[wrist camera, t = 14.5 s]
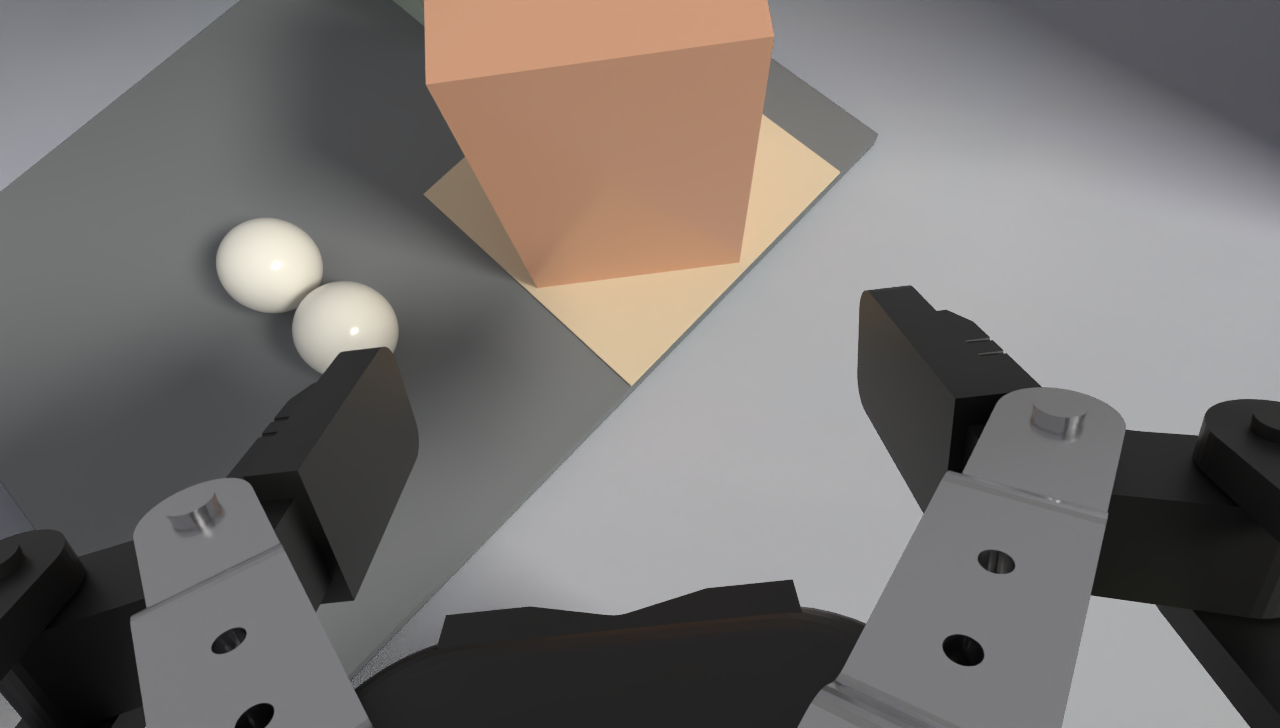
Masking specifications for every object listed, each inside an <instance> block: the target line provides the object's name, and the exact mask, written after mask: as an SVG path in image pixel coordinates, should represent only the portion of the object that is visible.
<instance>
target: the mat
mask: <svg viewBox="0 0 1280 728" xmlns="http://www.w3.org/2000/svg"><path fill="white" fill-rule="evenodd" d="M877 136H878V134H877V133H876V132H874V131H873V130H872V129H870V128H869V127H867V126H866V125H865V124H863V123H862V122H860V121H859V120H858V119H856V118H855V117H853V116H852V115H851V114H849V113H848V112H846V111H845V110H844V109H842V108H841V107H839V106H838V105H837V104H835V103H834V102H832V101H831V100H830V99H828V98H827V97H825V96H824V95H823V94H821V93H820V92H818V91H817V90H816V89H814V88H813V87H811V86H810V85H809V84H807V83H806V82H804V81H803V80H801V79H800V78H799V77H797V76H796V75H794V74H793V73H792V72H790V71H789V70H787V69H786V68H785V67H783V66H782V65H780V64H779V63H778V62H776V61H775V60H773V59H772V58H771V61H770V68H769V74H768V81H767V87H766V94H765V100H764V107H763V113H762V120H761V126H760V132H759V139H758V145H757V152H756V158H755V165H754V171H753V178H752V184H751V191H750V197H749V203H748V210H747V216H746V223H745V229H744V236H743V242H742V249H741V255H740V262H739V263H732V264H724V265H716V266H708V267H700V268H692V269H684V270H676V271H669V272H661V273H653V274H645V275H637V276H629V277H621V278H613V279H605V280H598V281H590V282H582V283H574V284H566V285H558V286H550V287H542V288H537V287H536V285H535V283H534V281H533V279H532V278H531V276H530V274H529V272H528V270H527V268H526V267H525V265H524V263H523V261H522V259H521V257H520V256H519V254H518V252H517V250H516V248H515V247H514V245H513V243H512V241H511V239H510V237H509V236H508V234H507V232H506V230H505V228H504V226H503V225H502V223H501V221H500V219H499V217H498V216H497V214H496V212H495V210H494V208H493V206H492V205H491V203H490V201H489V199H488V197H487V195H486V194H485V192H484V190H483V188H482V186H481V184H480V183H479V181H478V179H477V177H476V175H475V174H474V172H473V170H472V168H471V166H470V164H469V163H468V161H467V159H466V157H465V155H464V153H463V152H462V150H461V148H460V146H459V144H458V143H457V141H456V139H455V137H454V135H453V133H452V132H451V130H450V128H449V126H448V124H447V122H446V121H445V119H444V117H443V115H442V113H441V112H440V110H439V108H438V106H437V104H436V102H435V101H434V99H433V97H432V95H431V93H430V91H429V90H428V88H427V86H426V72H425V27H424V26H423V25H422V24H421V23H419V22H418V21H417V20H416V19H415V18H413V17H412V16H411V15H410V14H409V13H407V12H406V11H405V10H404V9H403V8H401V7H400V6H399V5H398V4H397V3H395V2H394V1H393V0H240V1H239V2H238V3H236V4H235V5H234V6H233V7H231V8H230V9H229V10H228V11H226V12H225V13H224V14H223V15H221V16H220V17H219V18H218V19H216V20H215V21H214V22H213V23H211V24H210V25H209V26H207V27H206V28H205V29H204V30H202V31H201V32H200V33H199V34H197V35H196V36H195V37H194V38H192V39H191V40H190V41H189V42H187V43H186V44H185V45H184V46H182V47H181V48H180V49H179V50H177V51H176V52H175V53H174V54H172V55H171V56H170V57H169V58H167V59H166V60H165V61H164V62H162V63H161V64H160V65H159V66H157V67H156V68H155V69H154V70H152V71H151V72H150V73H149V74H147V75H146V76H145V77H144V78H142V79H141V80H140V81H139V82H137V83H136V84H135V85H134V86H132V87H131V88H130V89H129V90H127V91H126V92H125V93H124V94H122V95H121V96H120V97H119V98H117V99H116V100H115V101H114V102H112V103H111V104H110V105H109V106H107V107H106V108H105V109H104V110H102V111H101V112H100V113H99V114H97V115H96V116H95V117H93V118H92V119H91V120H90V121H88V122H87V123H86V124H85V125H83V126H82V127H81V128H80V129H78V130H77V131H76V132H75V133H73V134H72V135H71V136H70V137H68V138H67V139H66V140H65V141H63V142H62V143H61V144H60V145H58V146H57V147H56V148H55V149H53V150H52V151H51V152H50V153H48V154H47V155H46V156H45V157H43V158H42V159H41V160H40V161H38V162H37V163H36V164H35V165H33V166H32V167H31V168H30V169H28V170H27V171H26V172H25V173H23V174H22V175H21V176H20V177H18V178H17V179H16V180H15V181H13V182H12V183H11V184H10V185H8V186H7V187H6V188H5V189H3V190H2V191H1V192H0V481H1V483H2V484H3V486H4V487H5V488H6V490H7V491H8V493H9V494H10V495H11V497H12V498H13V500H14V501H15V502H16V504H17V505H18V507H19V508H20V509H21V511H22V512H23V514H24V515H25V516H26V518H27V519H28V521H29V522H30V523H31V525H32V526H33V528H34V529H35V530H42V529H50V530H56V531H59V532H61V533H62V534H63V535H64V537H65V538H66V540H67V541H68V543H69V544H70V546H71V547H72V549H73V550H74V552H75V553H76V555H77V556H78V557H79V556H82V555H86V554H89V553H92V552H96V551H99V550H102V549H106V548H109V547H112V546H116V545H119V544H122V543H126V542H129V541H132V540H134V539H133V533H134V531H135V528H136V526H137V525H138V523H139V521H140V520H141V519H142V518H143V517H144V516H145V515H146V514H147V513H148V512H149V511H150V510H151V509H152V508H154V507H155V506H156V505H158V504H159V503H160V502H162V501H164V500H165V499H167V498H168V497H170V496H172V495H174V494H176V493H177V492H180V491H182V490H184V489H186V488H188V487H191V486H194V485H196V484H199V483H203V482H206V481H210V480H215V479H221V478H226V477H227V475H228V474H229V473H230V472H231V471H232V469H233V468H234V467H235V466H236V464H237V463H238V462H239V461H240V459H241V458H242V457H243V456H244V455H245V453H246V452H247V451H248V450H249V448H250V447H251V446H252V445H253V443H254V442H255V441H256V440H257V439H258V437H262V432H263V431H264V430H265V429H266V427H267V426H268V425H269V424H270V423H271V422H274V418H275V416H276V415H277V414H278V413H279V411H280V410H281V409H282V408H283V407H284V405H285V404H286V403H287V402H288V400H289V399H291V398H292V397H294V396H295V395H297V394H298V393H300V392H301V391H302V390H304V389H305V388H307V387H308V386H310V385H311V384H312V383H315V382H317V381H318V380H319V378H320V377H321V376H322V375H323V374H321V373H319V372H317V371H316V370H314V369H313V368H311V367H310V366H309V365H308V364H307V363H306V362H305V361H304V360H303V359H302V358H301V356H300V355H299V353H298V351H297V349H296V347H295V344H294V341H293V336H292V323H293V318H294V315H295V312H296V310H297V308H296V309H294V310H291V311H287V312H283V313H263V312H258V311H255V310H252V309H249V308H247V307H245V306H243V305H241V304H240V303H238V302H237V301H236V300H234V299H233V298H232V297H231V296H230V295H229V294H228V293H227V291H226V290H225V289H224V287H223V286H222V284H221V282H220V280H219V277H218V274H217V270H216V255H217V250H218V248H219V245H220V243H221V241H222V240H223V238H224V237H225V236H226V234H227V233H228V232H229V231H230V230H231V229H233V228H234V227H236V226H237V225H239V224H241V223H243V222H245V221H248V220H251V219H255V218H277V219H281V220H285V221H288V222H290V223H292V224H294V225H296V226H298V227H299V228H301V229H302V230H304V231H305V232H306V233H307V234H308V235H309V236H310V237H311V238H312V239H313V241H314V242H315V244H316V245H317V247H318V249H319V251H320V254H321V257H322V261H323V276H322V280H321V283H320V286H322V285H325V284H327V283H331V282H337V281H352V282H358V283H361V284H364V285H367V286H369V287H371V288H373V289H375V290H376V291H378V292H379V293H380V294H381V295H383V296H384V297H385V298H386V300H387V301H388V302H389V303H390V305H391V306H392V308H393V310H394V312H395V314H396V317H397V320H398V326H399V337H398V342H397V345H396V348H395V351H394V353H393V355H394V357H395V359H396V362H397V365H398V368H399V371H400V374H401V377H402V380H403V383H404V386H405V389H406V393H407V396H408V399H409V402H410V405H411V408H412V411H413V414H414V417H415V420H416V424H417V428H418V434H419V450H418V456H417V459H416V462H415V464H414V466H413V468H412V471H411V473H410V475H409V478H408V480H407V482H406V484H405V487H404V489H403V491H402V493H401V496H400V498H399V500H398V503H397V505H396V507H395V509H394V512H393V514H392V516H391V519H390V521H389V523H388V525H387V528H386V530H385V532H384V534H383V537H382V539H381V541H380V544H379V546H378V548H377V550H376V553H375V555H374V557H373V560H372V562H371V564H370V566H369V569H368V571H367V573H366V575H365V578H364V580H363V582H362V585H361V587H360V589H359V591H358V594H357V596H356V598H355V601H346V602H337V603H327V604H320V606H319V608H318V610H317V612H316V614H317V616H318V618H319V620H320V622H321V624H322V626H323V628H324V630H325V632H326V634H327V636H328V638H329V640H330V642H331V644H332V646H333V648H334V650H335V652H336V654H337V656H338V658H339V660H340V662H341V664H342V666H343V668H344V670H345V672H346V674H347V676H348V678H349V680H351V679H352V678H353V677H354V676H355V675H356V674H357V673H358V672H359V671H360V670H361V669H362V668H363V667H364V666H365V665H366V664H367V663H368V662H369V661H370V660H371V659H372V658H373V657H374V656H375V655H376V654H377V653H378V652H379V651H380V650H381V649H382V648H383V647H384V646H385V645H386V644H387V642H388V641H389V640H390V639H391V638H392V637H393V636H394V635H395V634H396V633H397V632H398V631H399V630H400V629H401V628H402V627H403V626H404V625H405V624H406V623H407V622H408V621H409V620H410V619H411V618H412V617H413V616H414V615H415V614H416V613H417V612H418V611H419V610H420V609H421V608H422V607H423V606H424V605H425V604H426V603H427V602H428V600H429V599H430V598H431V597H432V596H433V595H434V594H435V593H436V592H437V591H438V590H439V589H440V588H441V587H442V586H443V585H444V584H445V583H446V582H447V581H448V580H449V579H450V578H451V577H452V576H453V575H454V574H455V573H456V572H457V571H458V570H459V569H460V568H461V567H462V566H463V565H464V564H465V563H466V562H467V561H468V560H469V559H470V557H471V556H472V555H473V554H474V553H475V552H476V551H477V550H478V549H479V548H480V547H481V546H482V545H483V544H484V543H485V542H486V541H487V540H488V539H489V538H490V537H491V536H492V535H493V534H494V533H495V532H496V531H497V530H498V529H499V528H500V527H501V526H502V525H503V524H504V523H505V522H506V521H507V520H508V519H509V518H510V517H511V515H512V514H513V513H514V512H515V511H516V510H517V509H518V508H519V507H520V506H521V505H522V504H523V503H524V502H525V501H526V500H527V499H528V498H529V497H530V496H531V495H532V494H533V493H534V492H535V491H536V490H537V489H538V488H539V487H540V486H541V485H542V484H543V483H544V482H545V481H546V480H547V479H548V478H549V477H550V476H551V475H552V473H553V472H554V471H555V470H556V469H557V468H558V467H559V466H560V465H561V464H562V463H563V462H564V461H565V460H566V459H567V458H568V457H569V456H570V455H571V454H572V453H573V452H574V451H575V450H576V449H577V448H578V447H579V446H580V445H581V444H582V443H583V442H584V441H585V440H586V439H587V438H588V437H589V436H590V435H591V434H592V433H593V432H594V430H595V429H596V428H597V427H598V426H599V425H600V424H601V423H602V422H603V421H604V420H605V419H606V418H607V417H608V416H609V415H610V414H611V413H612V412H613V411H614V410H615V409H616V408H617V407H618V406H619V405H620V404H621V403H622V402H623V401H624V400H625V399H626V398H627V397H628V396H629V395H630V394H631V393H632V392H633V391H634V390H635V388H636V387H637V386H638V385H639V384H640V383H641V382H642V381H643V380H644V379H645V378H646V377H647V376H648V375H649V374H650V373H651V372H652V371H653V370H654V369H655V368H656V367H657V366H658V365H659V364H660V363H661V362H662V361H663V360H664V359H665V358H666V357H667V356H668V355H669V354H670V353H671V352H672V351H673V350H674V349H675V348H676V346H677V345H678V344H679V343H680V342H681V341H682V340H683V339H684V338H685V337H686V336H687V335H688V334H689V333H690V332H691V331H692V330H693V329H694V328H695V327H696V326H697V325H698V324H699V323H700V322H701V321H702V320H703V319H704V318H705V317H706V316H707V315H708V314H709V313H710V312H711V311H712V310H713V309H714V308H715V307H716V306H717V305H718V303H719V302H720V301H721V300H722V299H723V298H724V297H725V296H726V295H727V294H728V293H729V292H730V291H731V290H732V289H733V288H734V287H735V286H736V285H737V284H738V283H739V282H740V281H741V280H742V279H743V278H744V277H745V276H746V275H747V274H748V273H749V272H750V271H751V270H752V269H753V268H754V267H755V266H756V265H757V264H758V263H759V261H760V260H761V259H762V258H763V257H764V256H765V255H766V254H767V253H768V252H769V251H770V250H771V249H772V248H773V247H774V246H775V245H776V244H777V243H778V242H779V241H780V240H781V239H782V238H783V237H784V236H785V235H786V234H787V233H788V232H789V231H790V230H791V229H792V228H793V227H794V226H795V225H796V224H797V223H798V222H799V221H800V219H801V218H802V217H803V216H804V215H805V214H806V213H807V212H808V211H809V210H810V209H811V208H812V207H813V206H814V205H815V204H816V203H817V202H818V201H819V200H820V199H821V198H822V197H823V196H824V195H825V194H826V193H827V192H828V191H829V190H830V189H831V188H832V187H833V186H834V185H835V184H836V183H837V182H838V181H839V180H840V179H841V178H842V176H843V175H844V174H845V173H846V172H847V171H848V170H849V169H850V168H851V167H852V166H853V165H854V164H855V163H856V162H857V161H858V160H859V159H860V158H861V157H862V156H863V155H864V154H865V153H866V152H867V151H868V150H869V149H870V148H871V147H872V146H873V145H874V143H875V140H876V138H877ZM320 286H319V287H320Z"/></svg>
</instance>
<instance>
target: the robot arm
mask: <svg viewBox="0 0 1280 728" xmlns="http://www.w3.org/2000/svg"><path fill="white" fill-rule="evenodd" d="M857 377H858V388H859V394H860V398H861V402H862V405H863V408H864V410H865V412H866V414H867V415H868V417H869V419H870V421H871V422H872V424H873V426H874V428H875V429H876V431H877V433H878V435H879V436H880V438H881V440H882V442H883V443H884V445H885V447H886V449H887V450H888V452H889V454H890V456H891V457H892V459H893V461H894V463H895V464H896V466H897V468H898V470H899V471H900V473H901V475H902V477H903V478H904V480H905V482H906V484H907V485H908V487H909V489H910V491H911V492H912V494H913V496H914V498H915V499H916V501H917V503H918V504H919V506H920V508H921V510H922V511H923V513H924V515H923V516H922V518H921V520H920V522H919V524H918V526H917V528H916V530H915V532H914V534H913V536H912V537H911V539H910V541H909V543H908V545H907V547H906V549H905V551H904V553H903V555H902V557H901V558H900V560H899V562H898V564H897V566H896V568H895V570H894V572H893V574H892V576H891V578H890V580H889V581H888V583H887V585H886V587H885V589H884V591H883V593H882V595H881V597H880V599H879V601H878V602H877V604H876V606H875V608H874V610H873V612H872V614H871V616H870V618H869V620H868V622H867V624H865V623H863V622H861V621H858V620H856V619H853V618H850V617H847V616H843V615H840V614H837V613H834V612H829V611H824V610H819V609H815V608H807V607H800V604H799V600H798V597H797V593H796V590H795V586H794V583H793V580H784V581H774V582H764V583H755V584H745V585H735V586H725V587H716V588H706V589H703V590H700V591H697V592H693V593H690V594H687V595H684V596H681V597H678V598H674V599H671V600H668V601H665V602H662V603H659V604H655V605H652V606H649V607H646V608H643V609H639V610H636V611H633V612H630V613H627V614H623V615H615V616H612V615H600V614H592V613H583V612H574V611H565V610H556V609H547V608H538V607H522V608H512V609H502V610H492V611H483V612H473V613H463V614H454V615H446V618H445V621H444V625H443V628H442V632H441V635H440V639H439V643H438V644H437V645H434V646H431V647H428V648H425V649H423V650H421V651H418V652H416V653H413V654H411V655H409V656H407V657H405V658H403V659H401V660H399V661H397V662H395V663H393V664H391V665H390V666H388V667H386V668H385V669H383V670H381V671H380V672H378V673H377V674H375V675H374V676H372V677H370V678H369V679H368V680H366V681H365V682H364V683H362V684H361V685H360V686H358V687H357V688H356V689H354V688H353V686H352V684H351V682H350V680H349V678H348V676H347V674H346V672H345V670H344V668H343V666H342V664H341V662H340V660H339V658H338V656H337V654H336V652H335V650H334V648H333V646H332V644H331V642H330V640H329V638H328V636H327V634H326V632H325V630H324V628H323V626H322V624H321V622H320V620H319V618H318V616H317V614H316V612H317V610H318V608H319V606H320V604H327V603H337V602H346V601H355V598H356V596H357V594H358V591H359V589H360V587H361V585H362V582H363V580H364V578H365V575H366V573H367V571H368V569H369V566H370V564H371V562H372V560H373V557H374V555H375V553H376V550H377V548H378V546H379V544H380V541H381V539H382V537H383V534H384V532H385V530H386V528H387V525H388V523H389V521H390V519H391V516H392V514H393V512H394V509H395V507H396V505H397V503H398V500H399V498H400V496H401V493H402V491H403V489H404V487H405V484H406V482H407V480H408V478H409V475H410V473H411V471H412V468H413V466H414V464H415V462H416V459H417V456H418V450H419V434H418V428H417V424H416V420H415V417H414V414H413V411H412V408H411V405H410V402H409V399H408V396H407V393H406V389H405V386H404V383H403V380H402V377H401V374H400V371H399V368H398V365H397V362H396V359H395V357H394V355H393V353H392V351H391V350H390V349H389V348H387V347H376V348H368V349H360V350H351V351H343V352H340V353H339V354H338V355H337V357H336V358H335V359H334V360H333V362H332V363H331V364H330V366H329V367H328V368H327V369H326V371H325V372H324V373H323V375H322V376H321V377H320V378H319V380H318V381H317V382H315V383H312V384H311V385H310V386H308V387H307V388H305V389H304V390H302V391H301V392H300V393H298V394H297V395H295V396H294V397H292V398H291V399H289V400H288V402H287V403H286V404H285V405H284V407H283V408H282V409H281V410H280V411H279V413H278V414H277V415H276V416H275V418H274V422H271V423H270V424H269V425H268V426H267V427H266V429H265V430H264V431H263V432H262V437H258V439H257V440H256V441H255V442H254V443H253V445H252V446H251V447H250V448H249V450H248V451H247V452H246V453H245V455H244V456H243V457H242V458H241V459H240V461H239V462H238V463H237V464H236V466H235V467H234V468H233V469H232V471H231V472H230V473H229V474H228V475H227V477H226V478H221V479H215V480H210V481H206V482H203V483H199V484H196V485H194V486H191V487H188V488H186V489H184V490H182V491H180V492H177V493H176V494H174V495H172V496H170V497H168V498H167V499H165V500H164V501H162V502H160V503H159V504H158V505H156V506H155V507H154V508H152V509H151V510H150V511H149V512H148V513H147V514H146V515H145V516H144V517H143V518H142V519H141V520H140V521H139V523H138V525H137V526H136V528H135V531H134V533H133V539H134V540H132V541H129V542H126V543H122V544H119V545H116V546H112V547H109V548H106V549H102V550H99V551H96V552H92V553H89V554H86V555H82V556H79V557H78V556H77V555H76V553H75V552H74V550H73V549H72V547H71V546H70V544H69V543H68V541H67V540H66V538H65V537H64V535H63V534H62V533H61V532H59V531H56V530H50V529H42V530H34V531H29V532H24V533H21V534H17V535H14V536H11V537H8V538H5V539H3V540H0V693H1V694H2V695H3V696H4V697H5V698H6V700H7V701H8V702H9V703H10V704H11V706H12V707H13V708H14V709H15V710H16V711H17V713H18V714H19V715H20V716H21V717H22V719H21V721H20V722H19V723H18V724H17V726H16V727H15V728H145V727H147V728H1061V727H1062V723H1063V718H1064V713H1065V709H1066V704H1067V700H1068V695H1069V691H1070V686H1071V682H1072V677H1073V673H1074V668H1075V664H1076V659H1077V654H1078V650H1079V645H1080V641H1081V636H1082V632H1083V627H1084V623H1085V618H1086V614H1087V609H1088V605H1089V600H1090V595H1093V596H1100V597H1107V598H1114V599H1121V600H1128V601H1135V602H1142V603H1149V604H1156V606H1157V607H1158V609H1159V610H1160V612H1161V613H1162V614H1163V616H1164V617H1165V618H1166V619H1167V621H1168V622H1169V623H1170V625H1171V626H1172V627H1173V628H1174V630H1175V631H1176V632H1177V634H1178V635H1179V636H1180V637H1181V639H1182V640H1183V641H1184V643H1185V644H1186V645H1187V646H1188V648H1189V649H1190V650H1191V652H1192V653H1193V654H1194V655H1195V657H1196V658H1197V659H1198V661H1199V662H1200V663H1201V664H1202V666H1203V667H1204V668H1205V670H1206V671H1207V672H1208V674H1209V675H1210V676H1211V677H1212V679H1213V680H1214V681H1215V683H1216V684H1217V685H1218V686H1219V688H1220V689H1221V690H1222V692H1223V693H1224V694H1225V695H1226V697H1227V698H1228V699H1229V701H1230V702H1231V703H1232V704H1233V706H1234V707H1235V708H1236V710H1237V711H1238V712H1239V713H1240V715H1241V716H1242V717H1243V719H1244V720H1245V721H1246V722H1247V724H1248V725H1249V726H1250V728H1280V402H1277V401H1269V400H1257V399H1239V400H1231V401H1225V402H1221V403H1218V404H1216V405H1214V406H1212V407H1211V408H1210V409H1208V410H1207V412H1206V414H1205V416H1204V419H1203V423H1202V426H1201V429H1200V432H1199V436H1196V435H1182V434H1168V433H1154V432H1141V431H1132V430H1126V425H1125V422H1124V419H1123V418H1122V416H1121V415H1120V414H1119V413H1118V412H1117V411H1116V410H1115V409H1114V408H1112V407H1111V406H1109V405H1108V404H1106V403H1104V402H1103V401H1101V400H1099V399H1096V398H1094V397H1091V396H1089V395H1086V394H1083V393H1079V392H1075V391H1071V390H1066V389H1059V388H1048V387H1041V386H1040V385H1039V384H1038V383H1037V382H1036V381H1035V380H1034V379H1033V378H1032V377H1031V376H1030V375H1029V374H1028V373H1027V372H1026V371H1024V370H1023V369H1022V368H1021V367H1020V366H1019V365H1018V364H1017V363H1016V362H1015V361H1014V360H1013V359H1012V358H1011V357H1010V356H1009V355H1008V354H1007V353H1006V354H1003V350H1002V349H1001V348H1000V347H999V346H998V345H997V344H996V343H995V342H994V341H993V340H991V341H990V337H989V336H988V335H987V334H986V333H985V332H984V331H982V330H981V329H980V328H979V327H978V326H977V325H976V324H975V323H974V322H973V321H970V320H968V319H966V318H964V317H961V316H959V315H957V314H955V313H952V312H950V311H948V310H941V311H936V310H935V309H934V308H933V307H932V306H931V305H930V304H929V303H928V302H927V301H926V300H925V299H924V298H923V297H922V296H921V295H920V294H919V293H918V292H917V291H916V290H915V289H914V288H913V287H912V286H910V285H909V286H900V287H892V288H883V289H875V290H867V291H864V292H863V293H862V296H861V299H860V308H859V339H858V370H857Z"/></svg>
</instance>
